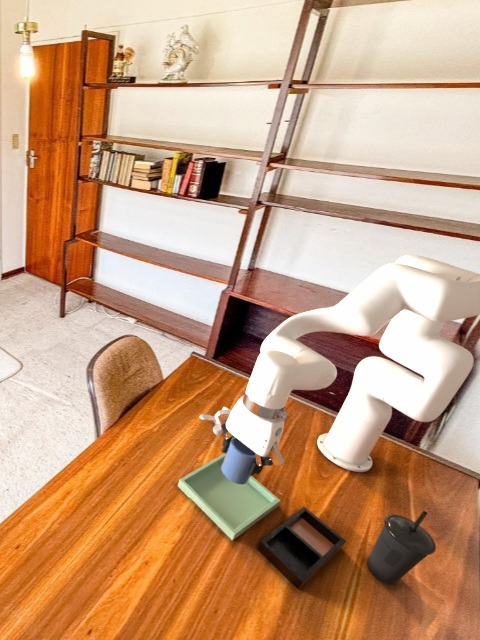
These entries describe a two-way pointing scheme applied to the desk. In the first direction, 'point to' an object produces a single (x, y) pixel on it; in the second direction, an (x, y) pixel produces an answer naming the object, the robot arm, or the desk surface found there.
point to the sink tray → (228, 498)
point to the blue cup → (238, 462)
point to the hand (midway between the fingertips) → (239, 460)
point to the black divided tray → (301, 546)
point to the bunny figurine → (216, 419)
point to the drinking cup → (399, 548)
